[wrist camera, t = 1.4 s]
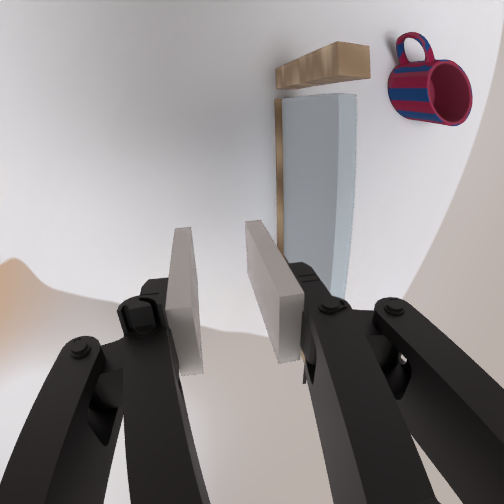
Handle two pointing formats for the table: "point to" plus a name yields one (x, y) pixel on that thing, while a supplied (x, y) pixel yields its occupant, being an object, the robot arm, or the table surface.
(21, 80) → the table surface
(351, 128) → the door
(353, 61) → the doorframe
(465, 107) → the mug
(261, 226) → the robot arm
